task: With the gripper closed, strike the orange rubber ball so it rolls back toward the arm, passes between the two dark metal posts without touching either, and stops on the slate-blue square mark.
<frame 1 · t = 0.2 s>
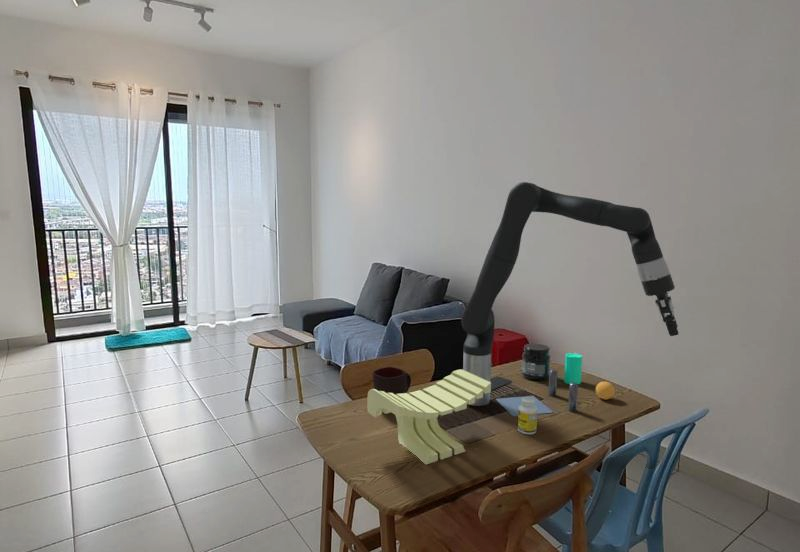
hand: (674, 331, 136), 31 cm above the table, tool tilted 20°, fingers open, 8 cm apart
far post: (552, 395, 172), on the table
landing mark: (523, 405, 163), on the table
supplement container: (535, 377, 191), on the table
candle: (572, 382, 185), on the table
near post: (572, 410, 159), on the table
supplement bottle: (527, 431, 145), on the table
slatted curved stool: (429, 445, 136), on the table
ball: (605, 390, 169), on the table
cup: (393, 406, 163), on the table
phone: (493, 385, 183), on the table
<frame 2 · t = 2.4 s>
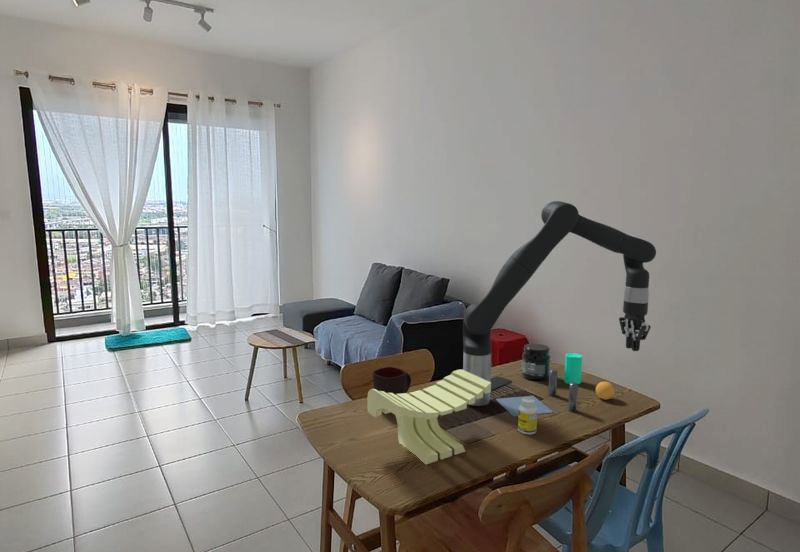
hand: (632, 349, 168), 17 cm above the table, tool pointing down, fingers closed
nothing on the table moved.
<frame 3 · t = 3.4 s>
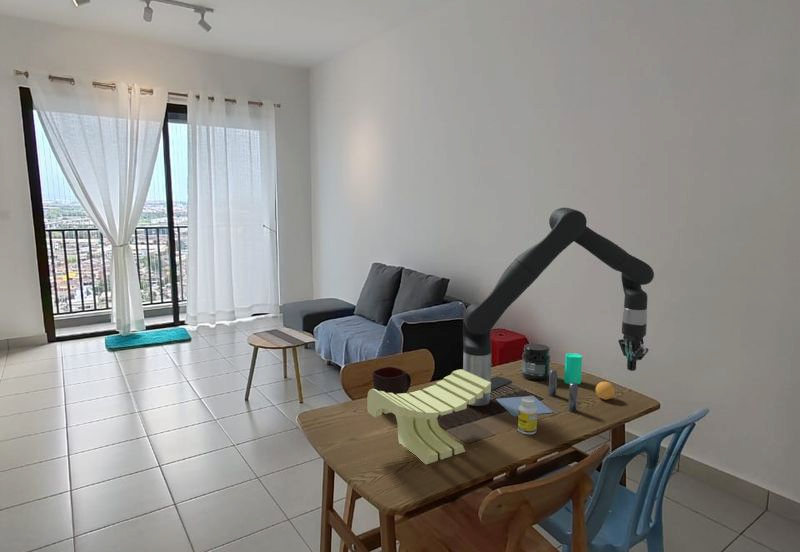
hand: (631, 370, 169), 10 cm above the table, tool pointing down, fingers closed
nothing on the table moved.
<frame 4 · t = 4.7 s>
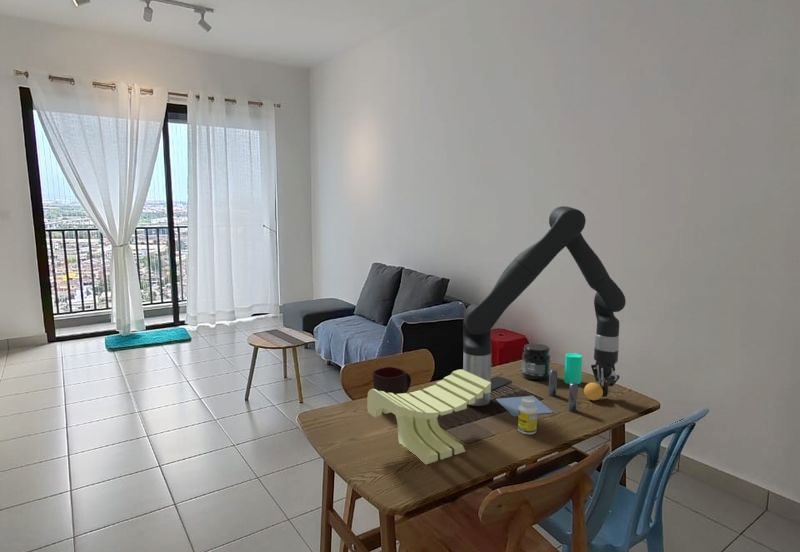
hand: (603, 395, 169), 1 cm above the table, tool pointing down, fingers closed
ball: (593, 391, 168), on the table
everything else where it was.
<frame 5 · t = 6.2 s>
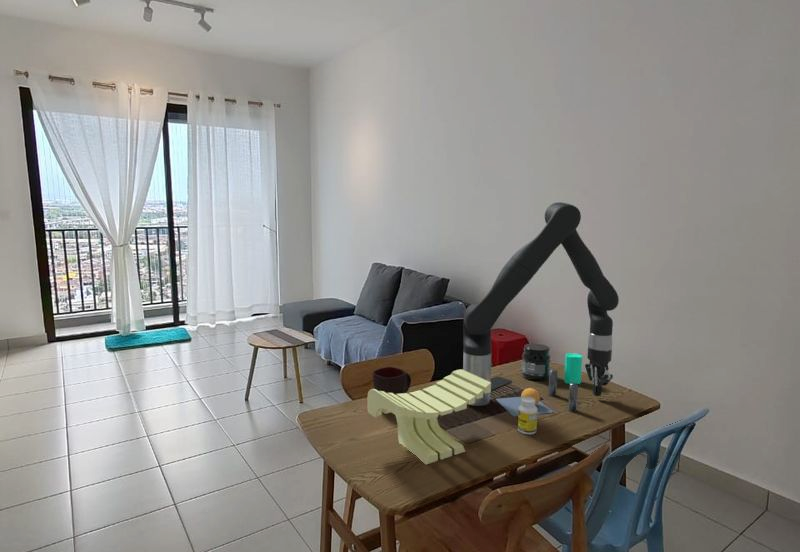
hand: (596, 395, 168), 2 cm above the table, tool pointing down, fingers closed
ball: (530, 397, 162), on the table
everything else where it was.
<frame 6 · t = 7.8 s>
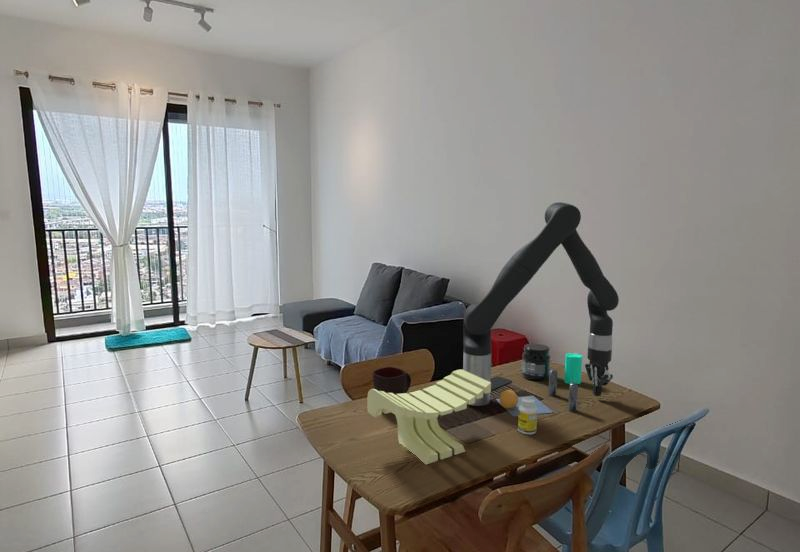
hand: (596, 395, 168), 2 cm above the table, tool pointing down, fingers closed
ball: (508, 399, 161), on the table
everything else where it was.
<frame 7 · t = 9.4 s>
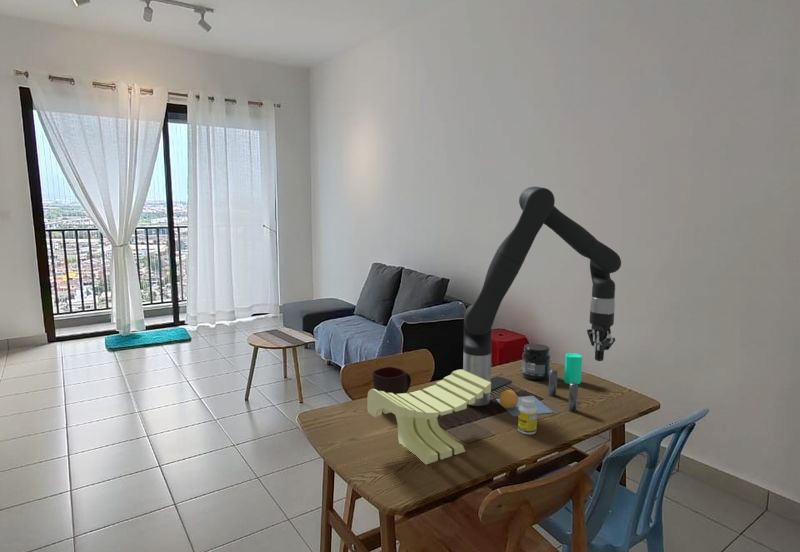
hand: (599, 360, 166), 14 cm above the table, tool pointing down, fingers closed
nothing on the table moved.
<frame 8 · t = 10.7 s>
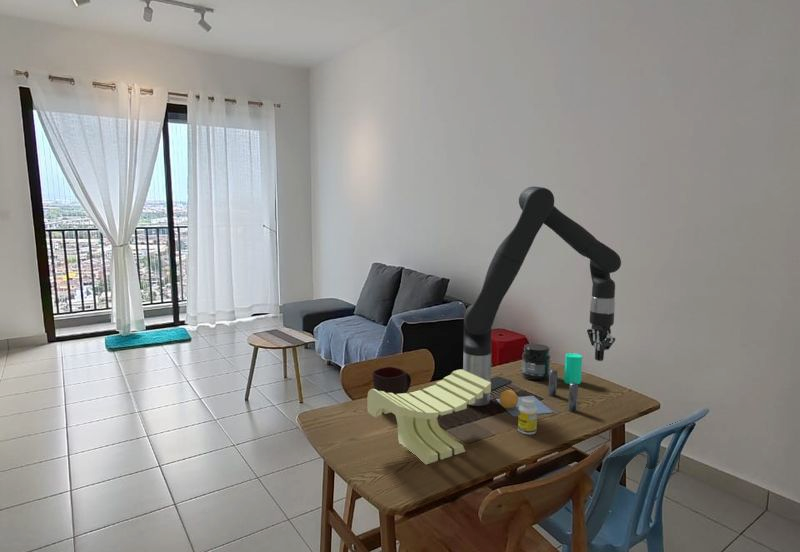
hand: (599, 360, 166), 14 cm above the table, tool pointing down, fingers closed
nothing on the table moved.
at the end: ball 5.7 cm from the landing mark (horizontally); ball never touched near post; ball never touched far post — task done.
